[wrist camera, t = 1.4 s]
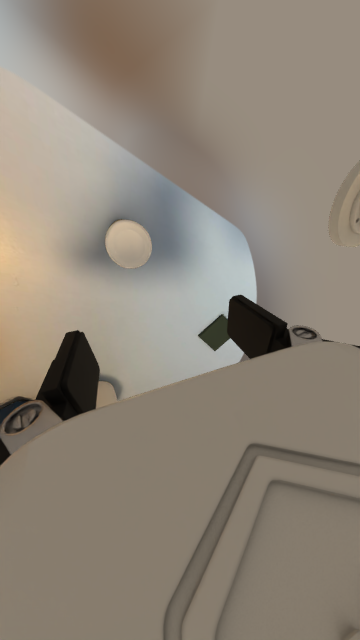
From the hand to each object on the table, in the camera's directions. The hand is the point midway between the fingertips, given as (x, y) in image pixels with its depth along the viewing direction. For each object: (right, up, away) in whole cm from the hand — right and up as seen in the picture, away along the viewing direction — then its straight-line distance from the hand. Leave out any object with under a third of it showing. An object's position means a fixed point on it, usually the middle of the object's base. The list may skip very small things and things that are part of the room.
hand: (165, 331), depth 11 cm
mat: (+11, -3, +34) cm, 36 cm away
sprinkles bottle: (-8, +15, +17) cm, 24 cm away
